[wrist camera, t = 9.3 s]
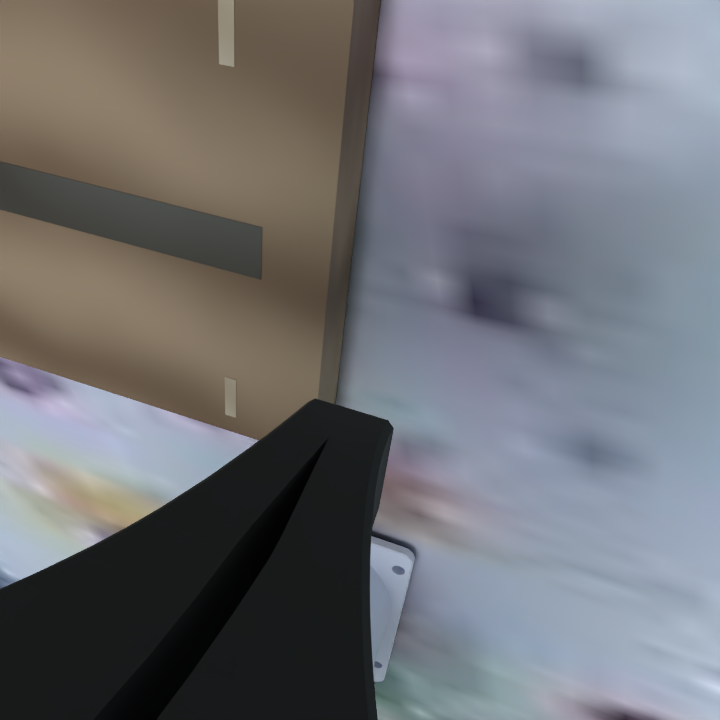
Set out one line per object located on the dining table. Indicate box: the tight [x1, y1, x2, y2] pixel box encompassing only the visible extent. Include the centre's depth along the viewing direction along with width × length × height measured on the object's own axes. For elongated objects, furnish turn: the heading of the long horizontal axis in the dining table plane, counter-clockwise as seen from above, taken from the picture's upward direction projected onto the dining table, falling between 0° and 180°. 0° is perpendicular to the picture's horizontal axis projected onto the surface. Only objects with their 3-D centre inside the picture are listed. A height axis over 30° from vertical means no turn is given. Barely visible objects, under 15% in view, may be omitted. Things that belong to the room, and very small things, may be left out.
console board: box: [0, 0, 381, 440], centre depth 20 cm, size 14×22×2 cm, turn 83°
